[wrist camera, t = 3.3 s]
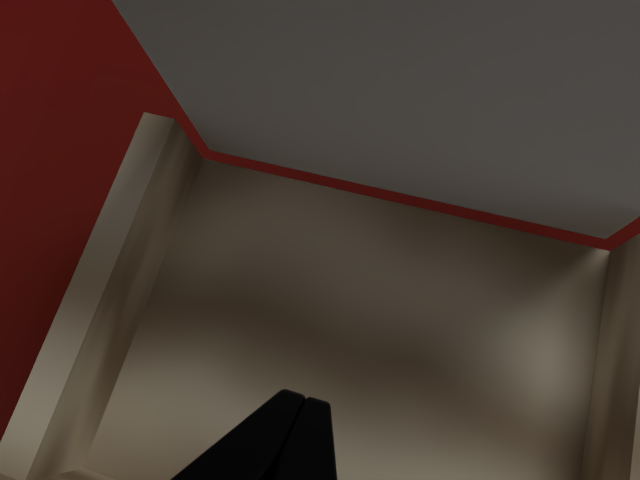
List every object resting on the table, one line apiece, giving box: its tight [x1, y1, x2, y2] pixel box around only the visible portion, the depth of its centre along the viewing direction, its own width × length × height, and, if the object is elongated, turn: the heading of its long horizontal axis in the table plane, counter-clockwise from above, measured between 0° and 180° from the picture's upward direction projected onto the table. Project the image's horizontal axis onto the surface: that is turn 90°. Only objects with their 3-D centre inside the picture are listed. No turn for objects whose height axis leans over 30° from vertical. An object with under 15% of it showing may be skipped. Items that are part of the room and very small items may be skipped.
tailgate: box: [112, 0, 640, 239], centre depth 13 cm, size 2×15×13 cm, turn 74°
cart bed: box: [0, 112, 640, 480], centre depth 16 cm, size 13×18×6 cm
